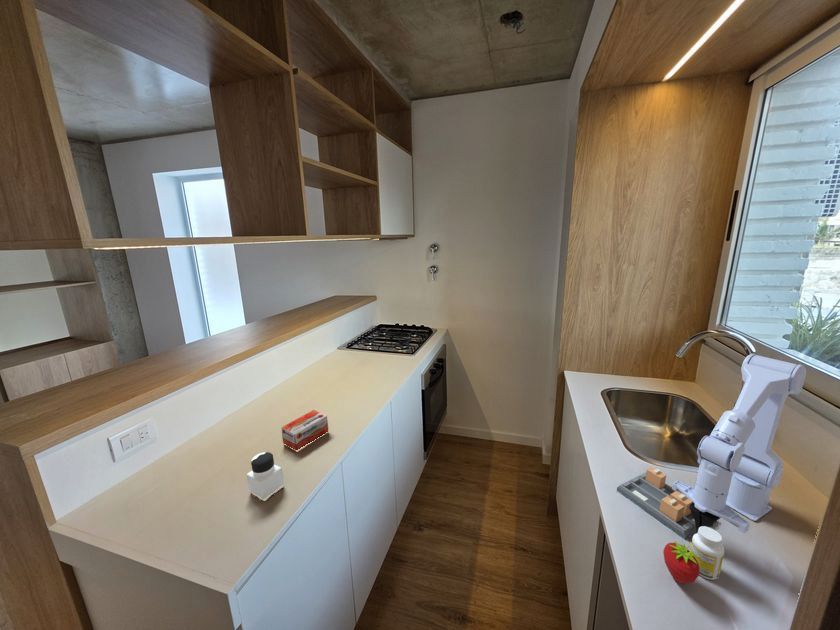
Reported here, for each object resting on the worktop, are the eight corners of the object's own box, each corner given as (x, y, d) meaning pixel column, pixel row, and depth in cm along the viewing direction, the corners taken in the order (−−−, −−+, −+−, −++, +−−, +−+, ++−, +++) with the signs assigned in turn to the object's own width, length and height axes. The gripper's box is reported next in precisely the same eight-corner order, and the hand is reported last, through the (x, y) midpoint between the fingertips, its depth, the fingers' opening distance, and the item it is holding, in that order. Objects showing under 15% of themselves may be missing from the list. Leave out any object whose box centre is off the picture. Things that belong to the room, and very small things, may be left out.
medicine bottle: (284, 487, 103) (279, 453, 101) (264, 503, 98) (258, 467, 95) (270, 479, 107) (265, 446, 104) (249, 494, 101) (243, 459, 98)
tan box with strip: (673, 503, 92) (676, 489, 90) (690, 513, 88) (693, 499, 87) (668, 506, 90) (670, 492, 89) (684, 517, 87) (687, 502, 86)
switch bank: (644, 476, 104) (645, 470, 103) (713, 520, 88) (715, 513, 87) (616, 490, 98) (617, 484, 98) (684, 539, 83) (686, 532, 82)
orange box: (665, 508, 90) (667, 494, 89) (681, 519, 86) (684, 504, 85) (659, 511, 89) (661, 497, 88) (675, 523, 85) (678, 508, 84)
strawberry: (683, 566, 76) (690, 531, 74) (702, 601, 69) (711, 563, 67) (654, 561, 77) (660, 526, 75) (669, 595, 70) (677, 557, 68)
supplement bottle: (704, 556, 78) (711, 522, 76) (725, 580, 73) (734, 544, 71) (681, 558, 78) (688, 523, 76) (701, 581, 73) (709, 545, 70)
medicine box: (296, 453, 119) (293, 434, 117) (283, 446, 124) (280, 427, 122) (329, 433, 131) (327, 414, 129) (316, 426, 136) (314, 409, 134)
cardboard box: (650, 478, 101) (652, 465, 100) (664, 486, 97) (666, 473, 96) (644, 480, 100) (647, 467, 99) (658, 489, 96) (661, 476, 95)
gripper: (668, 471, 83) (660, 516, 86) (742, 514, 70) (729, 565, 73) (685, 463, 86) (676, 506, 89) (759, 503, 73) (746, 552, 76)
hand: (701, 532), depth 81 cm, fingers closed
